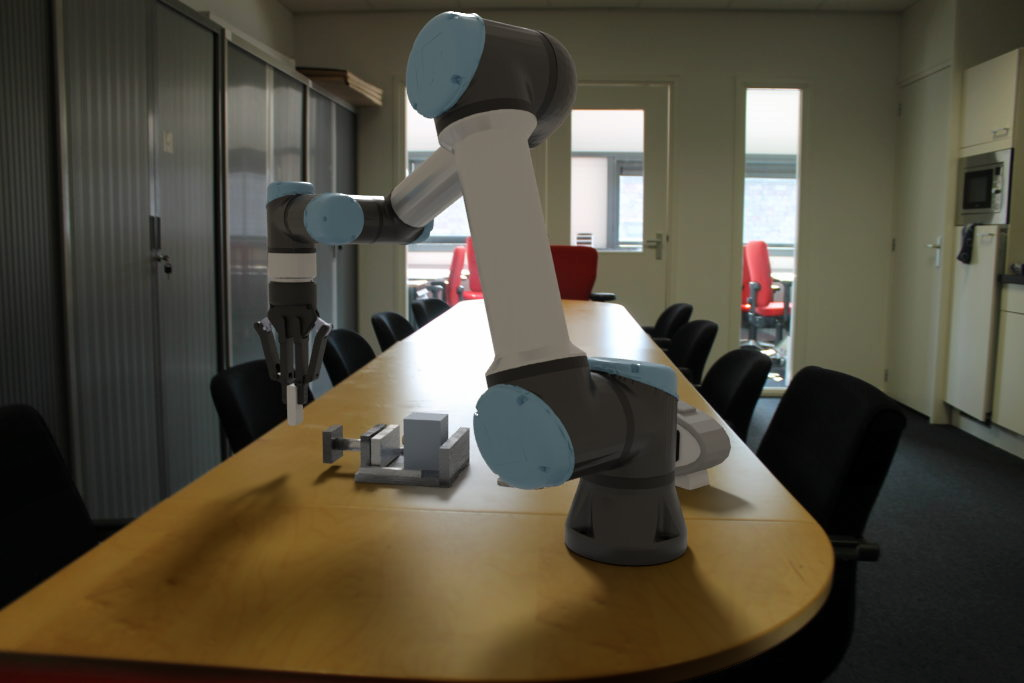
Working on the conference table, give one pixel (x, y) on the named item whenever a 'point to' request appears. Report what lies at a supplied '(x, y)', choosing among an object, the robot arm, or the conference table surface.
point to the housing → (424, 439)
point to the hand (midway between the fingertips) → (295, 423)
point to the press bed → (450, 467)
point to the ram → (382, 445)
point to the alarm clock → (697, 446)
